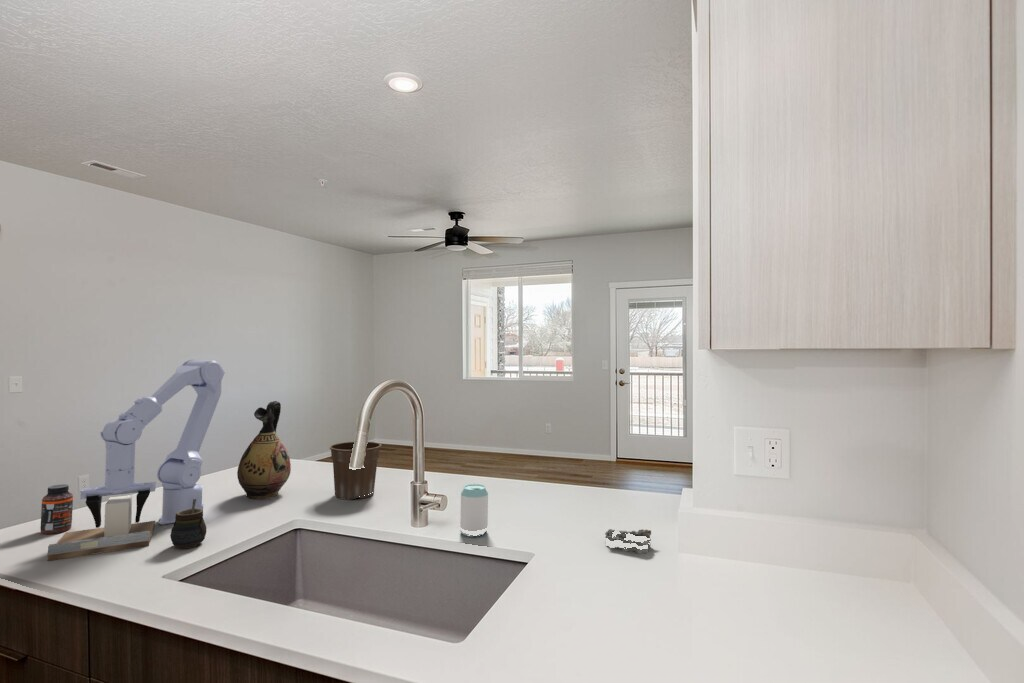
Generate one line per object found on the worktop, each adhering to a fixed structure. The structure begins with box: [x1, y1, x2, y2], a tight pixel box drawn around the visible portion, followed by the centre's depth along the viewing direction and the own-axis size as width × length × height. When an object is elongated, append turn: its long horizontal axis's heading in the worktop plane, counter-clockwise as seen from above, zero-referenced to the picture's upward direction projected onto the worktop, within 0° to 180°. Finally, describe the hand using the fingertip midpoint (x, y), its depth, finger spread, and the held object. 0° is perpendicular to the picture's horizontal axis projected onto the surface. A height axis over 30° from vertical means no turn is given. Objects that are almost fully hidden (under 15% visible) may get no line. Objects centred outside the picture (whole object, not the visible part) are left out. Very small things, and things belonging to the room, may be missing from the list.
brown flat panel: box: [47, 520, 156, 562], centre depth 122 cm, size 18×16×1 cm
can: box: [459, 483, 489, 538], centre depth 131 cm, size 7×7×12 cm
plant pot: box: [329, 441, 382, 501], centre depth 164 cm, size 16×16×16 cm
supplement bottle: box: [39, 483, 74, 535], centre depth 128 cm, size 6×6×11 cm
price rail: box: [47, 531, 150, 556], centre depth 115 cm, size 18×1×2 cm, turn 121°
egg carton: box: [604, 528, 652, 555], centre depth 123 cm, size 11×8×4 cm
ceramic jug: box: [236, 400, 292, 500], centre depth 163 cm, size 17×15×30 cm
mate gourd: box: [169, 499, 207, 550], centre depth 120 cm, size 7×8×10 cm
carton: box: [103, 494, 133, 537], centre depth 124 cm, size 4×7×8 cm, turn 31°
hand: (118, 523), depth 124 cm, fingers open, 7 cm apart
